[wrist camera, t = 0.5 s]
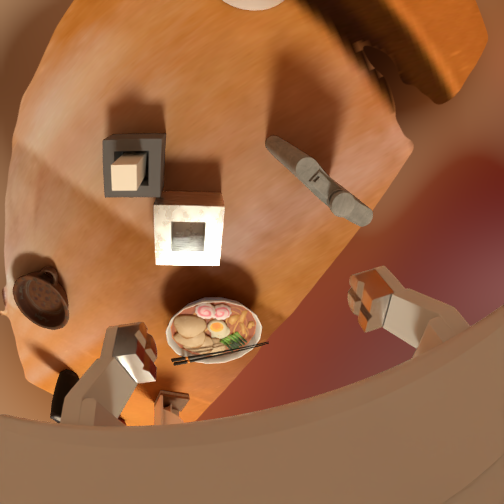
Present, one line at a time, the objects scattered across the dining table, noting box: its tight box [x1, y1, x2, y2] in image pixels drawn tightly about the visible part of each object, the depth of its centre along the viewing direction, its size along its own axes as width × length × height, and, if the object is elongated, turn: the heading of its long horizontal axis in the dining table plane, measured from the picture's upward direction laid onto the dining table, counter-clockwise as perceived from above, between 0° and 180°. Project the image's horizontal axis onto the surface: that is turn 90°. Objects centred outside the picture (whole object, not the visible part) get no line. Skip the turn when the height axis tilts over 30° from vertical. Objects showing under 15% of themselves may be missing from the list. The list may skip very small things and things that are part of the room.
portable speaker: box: [50, 369, 79, 423], centre depth 67 cm, size 9×9×20 cm
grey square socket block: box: [103, 133, 166, 197], centre depth 43 cm, size 10×10×6 cm
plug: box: [111, 152, 147, 191], centre depth 41 cm, size 4×4×10 cm
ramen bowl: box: [166, 297, 268, 366], centre depth 65 cm, size 25×23×8 cm
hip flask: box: [265, 136, 373, 226], centre depth 44 cm, size 16×4×20 cm, turn 54°
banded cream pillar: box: [154, 390, 189, 425], centre depth 75 cm, size 11×11×35 cm
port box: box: [154, 191, 225, 266], centre depth 51 cm, size 12×12×7 cm
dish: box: [13, 267, 69, 330], centre depth 54 cm, size 18×22×5 cm
